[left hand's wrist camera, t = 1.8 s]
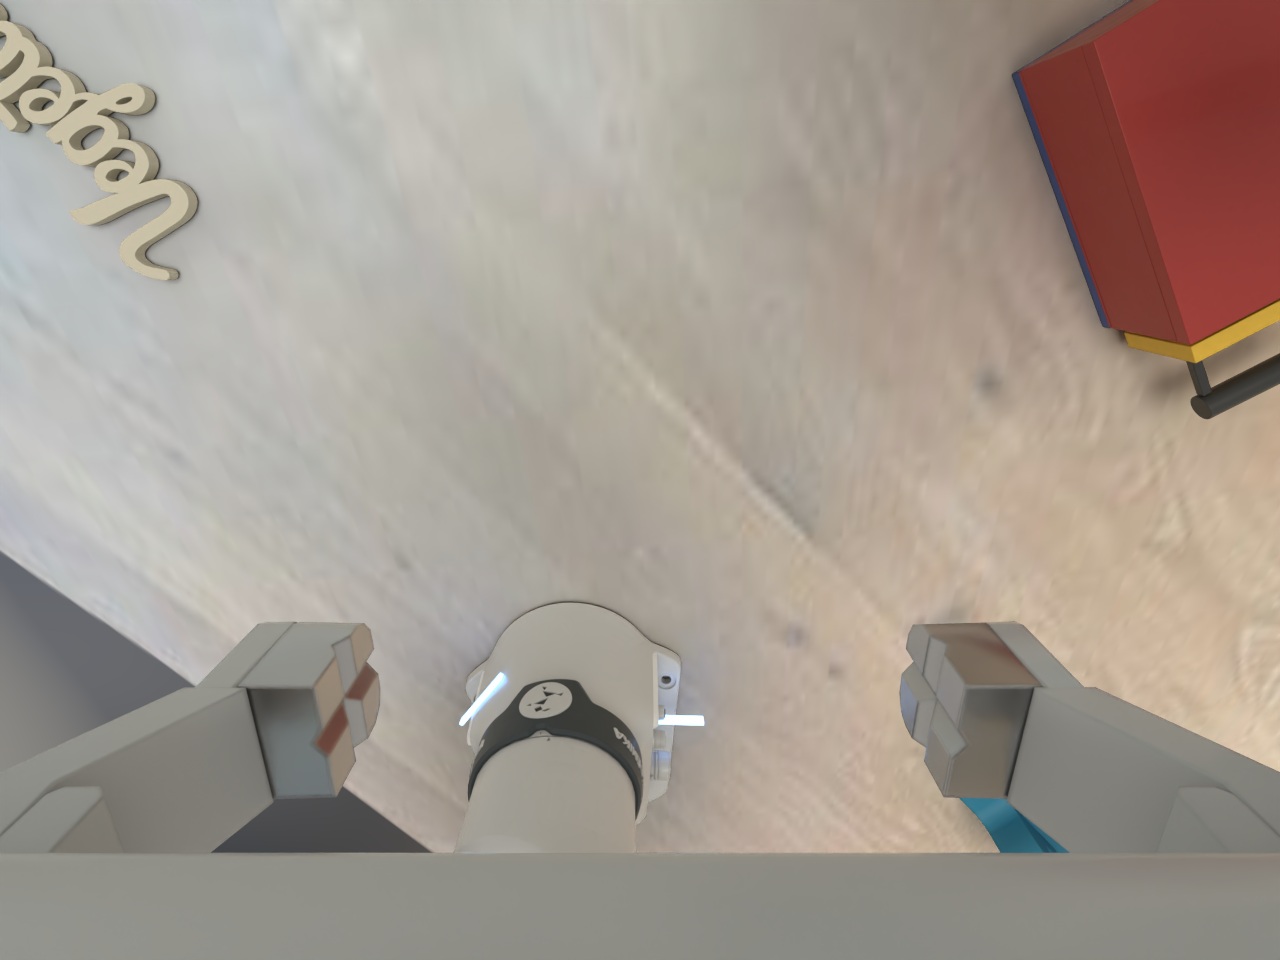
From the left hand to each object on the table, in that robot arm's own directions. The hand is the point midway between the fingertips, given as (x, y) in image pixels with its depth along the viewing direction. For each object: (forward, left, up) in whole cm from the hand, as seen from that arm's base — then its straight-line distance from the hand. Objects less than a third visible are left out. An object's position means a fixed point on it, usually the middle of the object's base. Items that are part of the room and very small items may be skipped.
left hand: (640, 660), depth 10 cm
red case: (+6, -34, -41) cm, 54 cm away
